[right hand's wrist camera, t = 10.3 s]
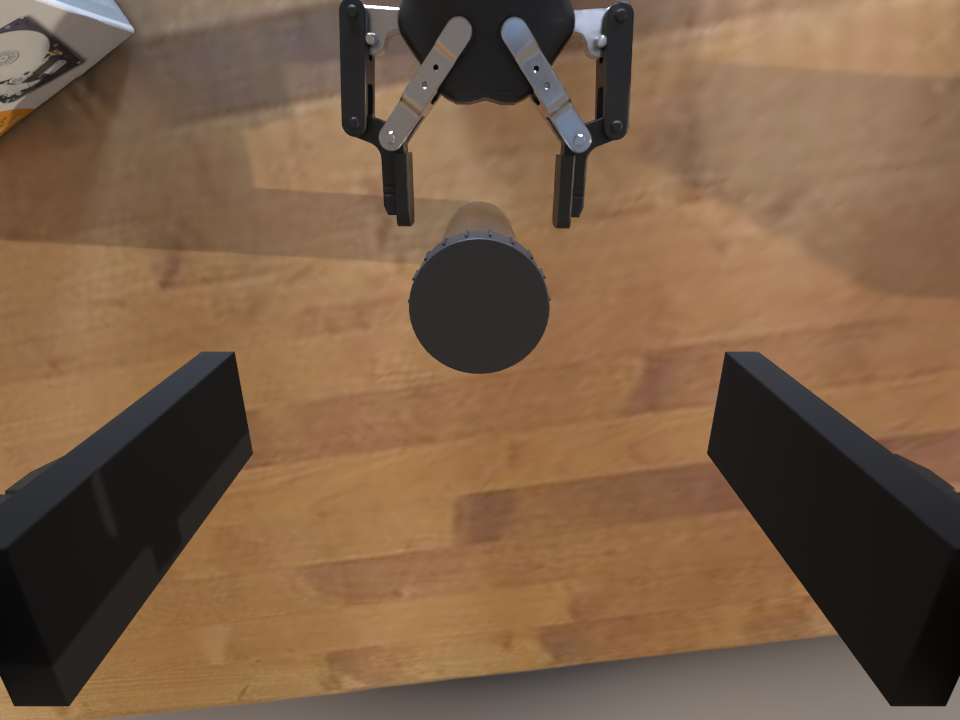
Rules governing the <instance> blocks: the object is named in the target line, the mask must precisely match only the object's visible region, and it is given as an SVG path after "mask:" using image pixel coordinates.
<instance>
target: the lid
mask: <svg viewBox="0 0 960 720" xmlns="http://www.w3.org/2000/svg"><path fill="white" fill-rule="evenodd" d="M545 278H546V277H545V275H544V273H543V271H542V269H541V268H540V269H539V268H538V266H537V264H536V262H535V260H534V259H533V256H532V254H531V251H530V250H528V251H527V250H526V249H525V248H524V247H523V246H521V245H520V244H519V243H518V242H516V241H514V239H513V237H512V236H510V238H509V237H507V236H505V235H503V234H499V233H496V232H492V231H491V229H489V230H488V231H482V230H476V231H468V229H467V230H465V232H463V233H459V234H457V235H454V236H451V237H450V238H447V237H445V238H444V240H443V242H441V243H440V244H439V245H437V246H436V247H435V248H434V249H433V250H432V251H431V252H430V251H428V252H427V254H426V256H425V258H424V262H423V263H422V265H421V267H420V269H419V270H417V271H416V273H415V275H414V277H413V279H412V280H413V281H414V282H413V285H412V288H411V292H410V297H409V300H408V303H409V313H410V320H411V323H412V327H413V330H414V332H415V334H416V336H417V338H418V340H419V341H420V343H421V344H422V346H423V347H424V348H425V349H426V351H427V352H428V353H429V354H430V355H432V356H433V357H434V358H435V359H436V360H438V361H439V362H441V363H442V364H444V365H446V366H448V367H450V368H453V369H455V370H458V371H462V372H467V373H475V374H484V373H492V372H497V371H501V370H503V369H506V368H509V367H511V366H513V365H515V364H516V363H518V362H519V361H521V360H522V359H524V358H525V357H526V356H527V355H528V354H529V353H530V352H531V351H532V350H533V349H534V348H535V347H536V345H537V344H538V342H539V341H540V339H541V337H542V336H543V334H544V331H545V329H546V326H547V322H548V318H549V309H550V303H549V301H550V296H549V294H548V289H547V286H546V283H545V280H544V279H545Z"/></svg>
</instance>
